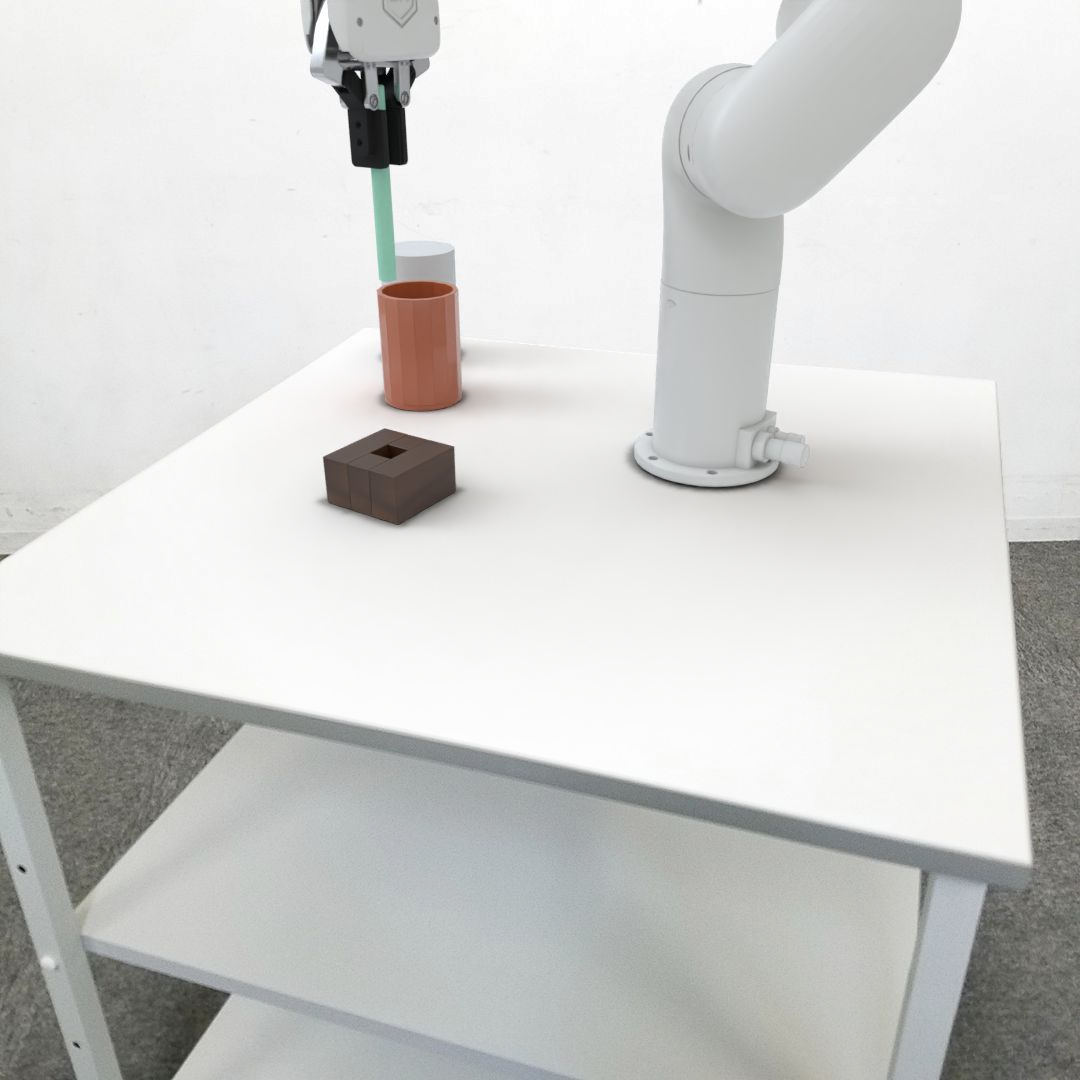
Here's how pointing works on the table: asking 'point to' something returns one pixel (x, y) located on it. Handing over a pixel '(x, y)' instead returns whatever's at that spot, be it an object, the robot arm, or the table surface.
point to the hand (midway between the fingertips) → (380, 164)
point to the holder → (390, 475)
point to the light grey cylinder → (424, 261)
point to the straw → (384, 215)
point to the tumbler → (420, 344)
